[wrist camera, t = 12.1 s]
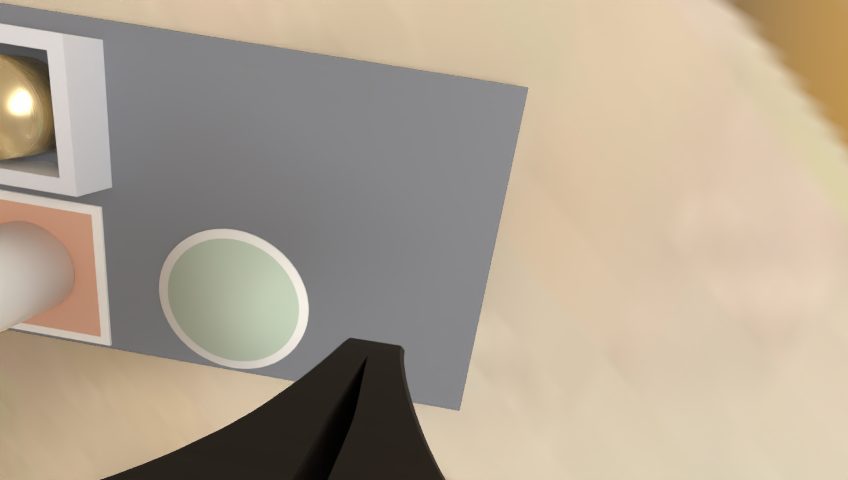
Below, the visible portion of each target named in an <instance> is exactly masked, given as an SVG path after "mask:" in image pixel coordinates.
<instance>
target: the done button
mask: <svg viewBox="0 0 848 480" xmlns="http://www.w3.org/2000/svg"><path fill="white" fill-rule="evenodd" d="M55 151H57V146H56V136H55V126H54V116H53V106H52V96H51V86H50V76H49V66H48V65H47V64H45V63H43V62H41V61H40V60H37V59H35V58H32V57H28V56H20V55H8V54H0V160H3V159H10V158H17V157H24V156H31V155H38V154H45V153H51V152H55Z"/></svg>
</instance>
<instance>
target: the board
mask: <svg viewBox="0 0 848 480" xmlns="http://www.w3.org/2000/svg"><path fill="white" fill-rule="evenodd" d="M0 54H8V55H20V56H28V57H32V58H35V59H37V60H40V61H41V62H43V63H45V64H47V65H48V66H49V76H50V86H51V96H52V106H53V116H54V126H55V136H56V146H57V151H55V152H51V153H45V154H38V155H31V156H24V157H17V158H10V159H3V160H0V224H3V223H7V222H11V221H25V222H30V223H33V224H36V225H38V226H40V227H42V228H44V229H46V230H47V231H49V232H50V233H51V234H53V235H54V236H55V237H56V238H57V239H58V240H59V241H60V242H61V243H62V245H63V246H64V247H65V249H66V250H67V252H68V254H69V256H70V258H71V261H72V264H73V268H74V284H73V288H72V290H71V292H70V294H69V295H68V297H67V298H66V299H65V300H64V301H63V302H61V303H60V304H58V305H56V306H54V307H52V308H50V309H48V310H46V311H44V312H42V313H39V314H37V315H35V316H33V317H31V318H29V319H27V320H25V321H23V322H21V323H19V324H17V325H15V326H13V327H11V328H9V329H7V330H12V331H18V332H23V333H29V334H34V335H40V336H46V337H51V338H57V339H62V340H68V341H73V342H79V343H85V344H90V345H96V346H101V347H107V348H112V349H118V350H124V351H129V352H135V353H140V354H146V355H151V356H157V357H163V358H168V359H174V360H179V361H185V362H190V363H196V364H202V365H207V366H213V367H218V368H224V369H229V370H235V371H241V372H246V373H252V374H257V375H263V376H268V377H274V378H280V379H285V380H291V381H297V380H299V379H300V378H301V377H302V376H304V375H305V374H306V373H308V372H309V371H310V370H311V369H313V368H314V367H315V366H316V365H318V364H319V363H320V362H321V361H322V360H323V359H325V358H326V357H327V356H328V355H329V354H331V353H332V352H333V351H334V350H335V349H336V348H337V347H338V346H340V345H341V344H342V343H343V342H344V341H345V340H347V339H348V338H356V339H363V340H369V341H375V342H381V343H388V344H394V345H400V346H402V348H403V349H404V350H405V354H404V366H405V373H406V379H407V384H408V388H409V392H410V396H411V399H412V402H413V403H419V404H425V405H430V406H436V407H441V408H447V409H452V410H458V411H459V410H460V405H461V401H462V396H463V391H464V387H465V382H466V377H467V373H468V368H469V363H470V359H471V354H472V349H473V345H474V340H475V335H476V331H477V326H478V321H479V316H480V312H481V307H482V302H483V298H484V293H485V288H486V284H487V279H488V274H489V270H490V265H491V260H492V256H493V251H494V246H495V242H496V237H497V232H498V227H499V223H500V218H501V213H502V209H503V204H504V199H505V195H506V190H507V185H508V181H509V176H510V171H511V167H512V162H513V157H514V153H515V148H516V143H517V138H518V134H519V129H520V124H521V120H522V115H523V110H524V106H525V101H526V96H527V92H528V87H522V86H515V85H509V84H503V83H497V82H491V81H484V80H478V79H472V78H466V77H459V76H453V75H447V74H441V73H434V72H428V71H422V70H416V69H409V68H403V67H397V66H391V65H384V64H378V63H372V62H366V61H359V60H353V59H347V58H341V57H334V56H328V55H322V54H316V53H309V52H303V51H297V50H291V49H285V48H278V47H272V46H266V45H260V44H253V43H247V42H241V41H235V40H228V39H222V38H216V37H210V36H203V35H197V34H191V33H185V32H178V31H172V30H166V29H160V28H153V27H147V26H141V25H135V24H128V23H122V22H116V21H110V20H104V19H97V18H91V17H85V16H79V15H72V14H66V13H60V12H54V11H47V10H41V9H35V8H29V7H22V6H16V5H10V4H4V3H0Z"/></svg>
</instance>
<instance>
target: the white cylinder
mask: <svg viewBox="0 0 848 480" xmlns="http://www.w3.org/2000/svg"><path fill="white" fill-rule="evenodd" d="M73 284H74V268H73V264H72V261H71V258H70V256H69V254H68V252H67V250H66V249H65V247H64V246H63V245H62V243H61V242H60V241H59V240H58V239H57V238H56V237H55V236H54V235H53V234H51V233H50V232H49V231H47V230H46V229H44V228H42V227H40V226H38V225H36V224H33V223H30V222H25V221H11V222H7V223H3V224H0V332H2V331H5V330H7V329H9V328H11V327H13V326H15V325H17V324H19V323H21V322H23V321H25V320H27V319H29V318H31V317H33V316H35V315H37V314H39V313H42V312H44V311H46V310H48V309H50V308H52V307H54V306H56V305H58V304H60V303H61V302H63V301H64V300H65V299H66V298H67V297H68V295H69V294H70V292H71V290H72V288H73Z"/></svg>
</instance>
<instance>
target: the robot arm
mask: <svg viewBox="0 0 848 480" xmlns="http://www.w3.org/2000/svg"><path fill="white" fill-rule="evenodd" d="M404 354H405V350H404V349H403V348H402V346H400V345H394V344H388V343H381V342H375V341H369V340H363V339H356V338H348V339H347V340H345V341H344V342H343V343H342V344H341V345H340V346H338V347H337V348H336V349H335V350H334V351H333V352H332V353H331V354H329V355H328V356H327V357H326V358H325V359H323V360H322V361H321V362H320V363H319V364H318V365H316V366H315V367H314V368H313V369H311V370H310V371H309V372H308V373H306V374H305V375H304V376H302V377H301V378H300V379H299V380H297V381H296V382H295V383H293V384H292V385H291V386H289V387H288V388H286V389H285V390H284V391H282V392H281V393H279V394H278V395H276V396H275V397H274V398H272V399H271V400H269V401H268V402H266V403H265V404H263V405H262V406H260V407H259V408H257V409H256V410H254V411H252V412H251V413H249V414H247V415H246V416H244V417H242V418H240V419H238V420H237V421H235V422H233V423H231V424H230V425H228V426H226V427H224V428H222V429H220V430H218V431H216V432H214V433H212V434H210V435H208V436H205V437H203V438H201V439H199V440H197V441H195V442H193V443H191V444H189V445H187V446H185V447H182V448H180V449H178V450H176V451H174V452H171V453H169V454H167V455H164V456H162V457H159V458H157V459H155V460H152V461H150V462H147V463H145V464H142V465H140V466H137V467H134V468H132V469H129V470H126V471H124V472H121V473H118V474H116V475H113V476H110V477H107V478H104V479H101V480H445V478H444V476H443V475H442V473H441V471H440V469H439V467H438V465H437V463H436V461H435V459H434V457H433V455H432V453H431V451H430V448H429V446H428V444H427V442H426V439H425V437H424V434H423V432H422V429H421V427H420V424H419V421H418V418H417V416H416V413H415V409H414V406H413V403H412V399H411V396H410V392H409V388H408V384H407V379H406V373H405V366H404Z"/></svg>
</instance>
